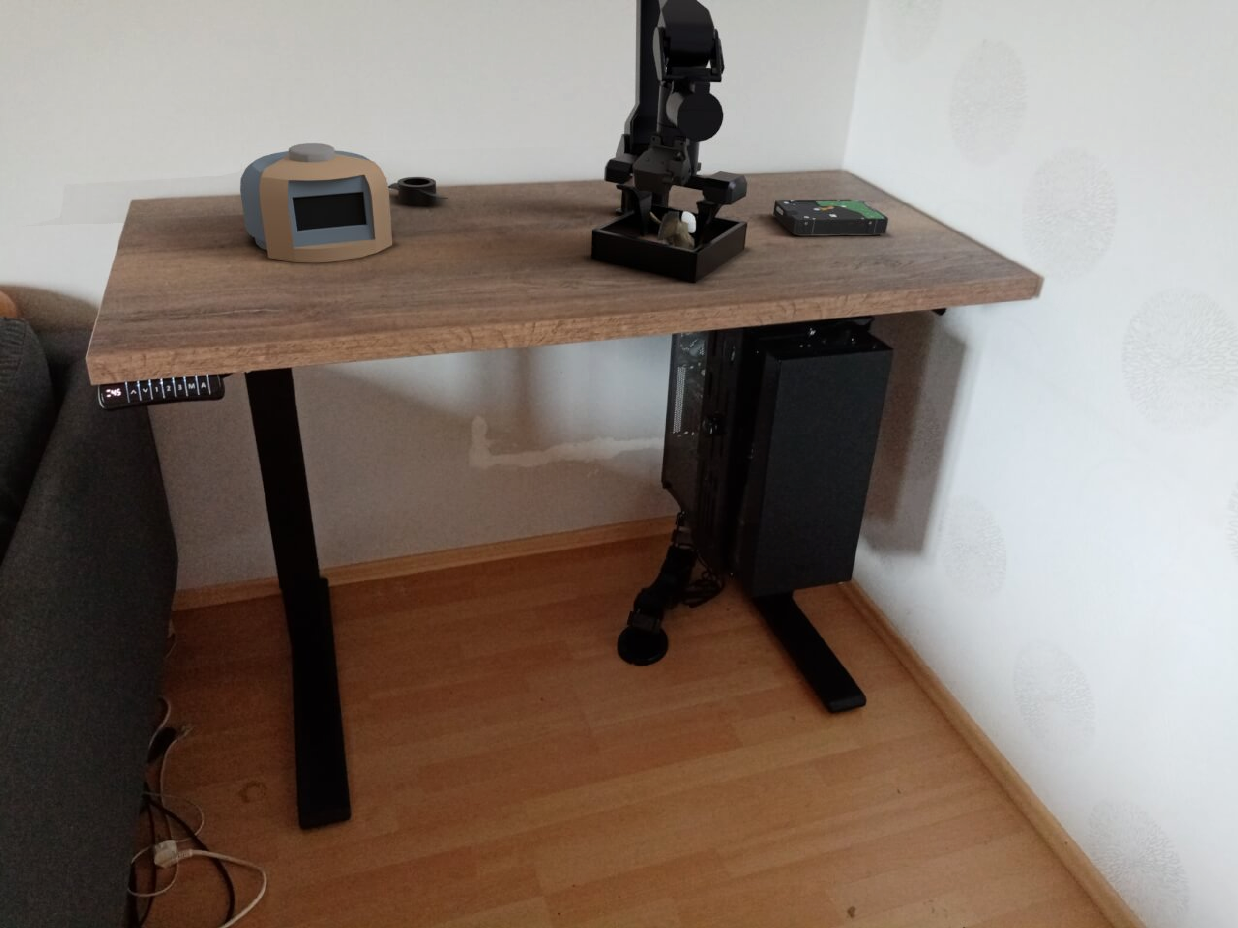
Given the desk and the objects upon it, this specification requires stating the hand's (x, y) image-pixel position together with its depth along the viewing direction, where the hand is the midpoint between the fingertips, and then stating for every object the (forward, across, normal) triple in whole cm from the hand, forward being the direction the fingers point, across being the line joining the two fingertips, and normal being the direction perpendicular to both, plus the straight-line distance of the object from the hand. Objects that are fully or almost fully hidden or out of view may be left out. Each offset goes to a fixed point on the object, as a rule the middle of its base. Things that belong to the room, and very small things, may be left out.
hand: (669, 241), depth 134 cm
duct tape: (+2, -43, -1) cm, 43 cm away
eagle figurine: (+2, 0, 0) cm, 2 cm away
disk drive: (+2, +14, +27) cm, 31 cm away
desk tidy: (+2, 0, 0) cm, 2 cm away
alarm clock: (+2, -42, -23) cm, 48 cm away
